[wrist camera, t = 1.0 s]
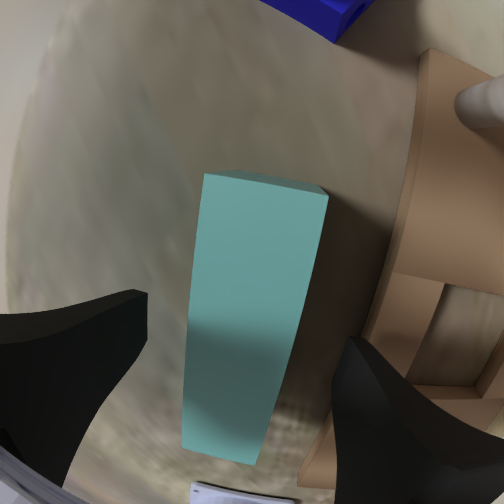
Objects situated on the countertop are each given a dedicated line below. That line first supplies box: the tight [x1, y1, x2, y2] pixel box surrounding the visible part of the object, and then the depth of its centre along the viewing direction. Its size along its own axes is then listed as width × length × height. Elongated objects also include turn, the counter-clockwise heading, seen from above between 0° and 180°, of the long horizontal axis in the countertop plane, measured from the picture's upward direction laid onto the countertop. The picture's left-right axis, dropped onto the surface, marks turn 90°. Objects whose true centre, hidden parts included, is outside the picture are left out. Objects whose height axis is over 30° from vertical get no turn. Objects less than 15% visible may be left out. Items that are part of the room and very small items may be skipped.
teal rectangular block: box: [181, 170, 329, 465], centre depth 11 cm, size 11×3×4 cm, turn 170°
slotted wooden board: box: [297, 48, 504, 489], centre depth 9 cm, size 25×11×6 cm, turn 170°
